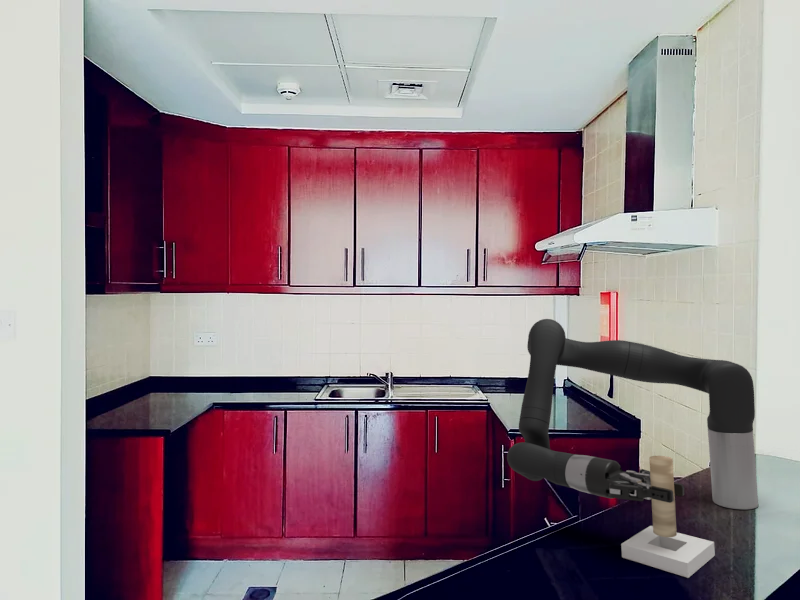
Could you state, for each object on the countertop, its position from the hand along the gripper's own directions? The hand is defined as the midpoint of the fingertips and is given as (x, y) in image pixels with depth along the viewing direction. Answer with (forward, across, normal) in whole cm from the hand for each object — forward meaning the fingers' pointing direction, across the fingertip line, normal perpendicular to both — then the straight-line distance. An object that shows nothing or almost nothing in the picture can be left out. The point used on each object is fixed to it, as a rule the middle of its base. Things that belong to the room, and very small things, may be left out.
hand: (677, 493), depth 102 cm
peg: (-3, 0, +8) cm, 8 cm away
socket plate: (-2, 0, +12) cm, 13 cm away
